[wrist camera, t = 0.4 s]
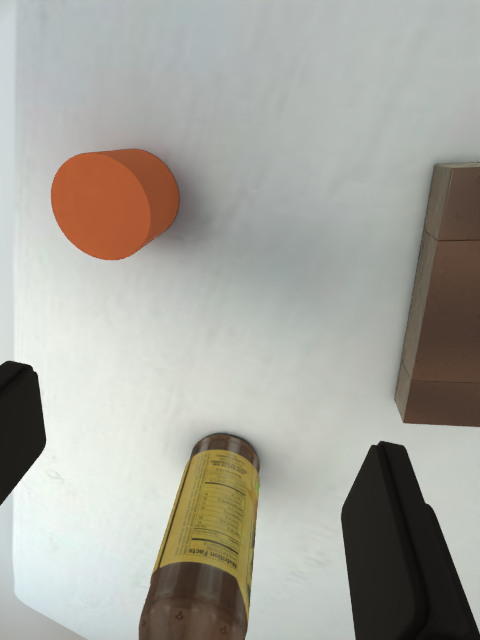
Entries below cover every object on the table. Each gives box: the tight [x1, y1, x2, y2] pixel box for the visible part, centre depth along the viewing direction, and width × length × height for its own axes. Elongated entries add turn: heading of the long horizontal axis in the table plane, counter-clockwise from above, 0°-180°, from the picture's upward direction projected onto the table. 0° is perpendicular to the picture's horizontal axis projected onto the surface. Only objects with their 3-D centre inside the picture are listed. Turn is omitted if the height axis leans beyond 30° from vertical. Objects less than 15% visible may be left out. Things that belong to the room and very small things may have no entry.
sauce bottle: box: [139, 434, 260, 640], centre depth 23 cm, size 6×6×20 cm
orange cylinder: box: [51, 149, 179, 260], centre depth 20 cm, size 5×5×5 cm
